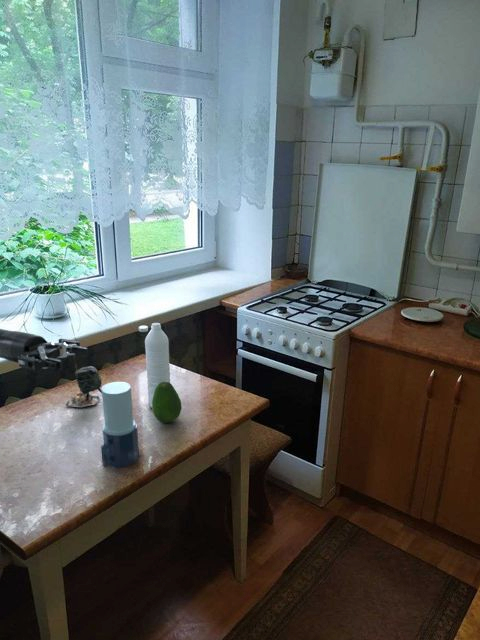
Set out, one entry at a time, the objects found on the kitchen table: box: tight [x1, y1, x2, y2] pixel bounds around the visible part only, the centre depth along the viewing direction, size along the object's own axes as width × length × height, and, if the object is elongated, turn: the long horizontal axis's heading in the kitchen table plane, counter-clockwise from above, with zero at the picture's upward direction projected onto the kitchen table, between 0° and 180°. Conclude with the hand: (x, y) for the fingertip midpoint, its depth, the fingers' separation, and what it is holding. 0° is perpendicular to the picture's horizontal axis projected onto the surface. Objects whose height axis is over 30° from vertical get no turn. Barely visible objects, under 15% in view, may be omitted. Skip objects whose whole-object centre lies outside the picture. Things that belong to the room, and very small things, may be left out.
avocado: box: [151, 382, 182, 424], centre depth 134 cm, size 8×8×12 cm
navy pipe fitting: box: [100, 424, 140, 469], centre depth 117 cm, size 11×8×8 cm
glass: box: [100, 381, 137, 436], centre depth 115 cm, size 7×7×10 cm
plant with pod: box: [65, 350, 102, 409], centre depth 141 cm, size 8×11×20 cm
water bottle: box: [138, 322, 171, 408], centre depth 140 cm, size 9×6×25 cm
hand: (75, 359), depth 114 cm, fingers open, 8 cm apart
